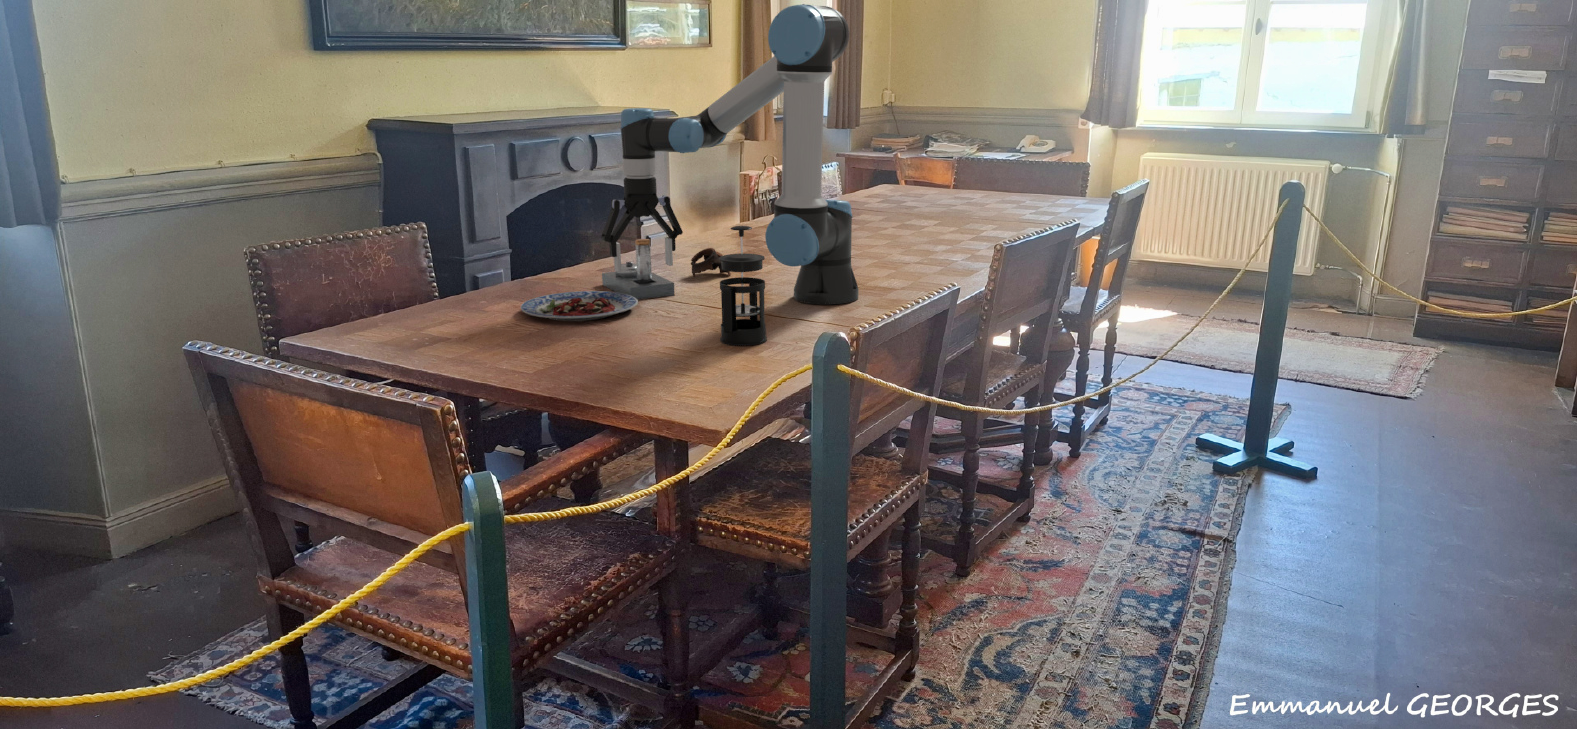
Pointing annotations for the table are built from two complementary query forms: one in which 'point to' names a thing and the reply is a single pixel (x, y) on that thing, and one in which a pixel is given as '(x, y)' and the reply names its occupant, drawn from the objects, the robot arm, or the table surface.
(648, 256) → the pin
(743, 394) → the table surface
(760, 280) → the french press
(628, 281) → the block
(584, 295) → the ceramic plate
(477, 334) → the table surface
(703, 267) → the broken brown mug
